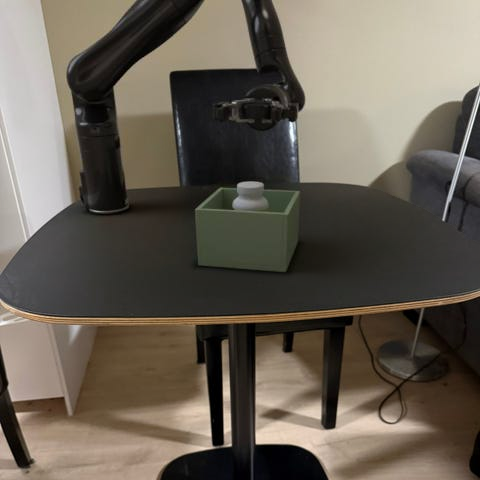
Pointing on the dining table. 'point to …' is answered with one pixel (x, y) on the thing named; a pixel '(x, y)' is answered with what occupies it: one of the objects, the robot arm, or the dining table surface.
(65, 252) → the dining table surface
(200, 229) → the storage bin
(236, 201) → the pill bottle
